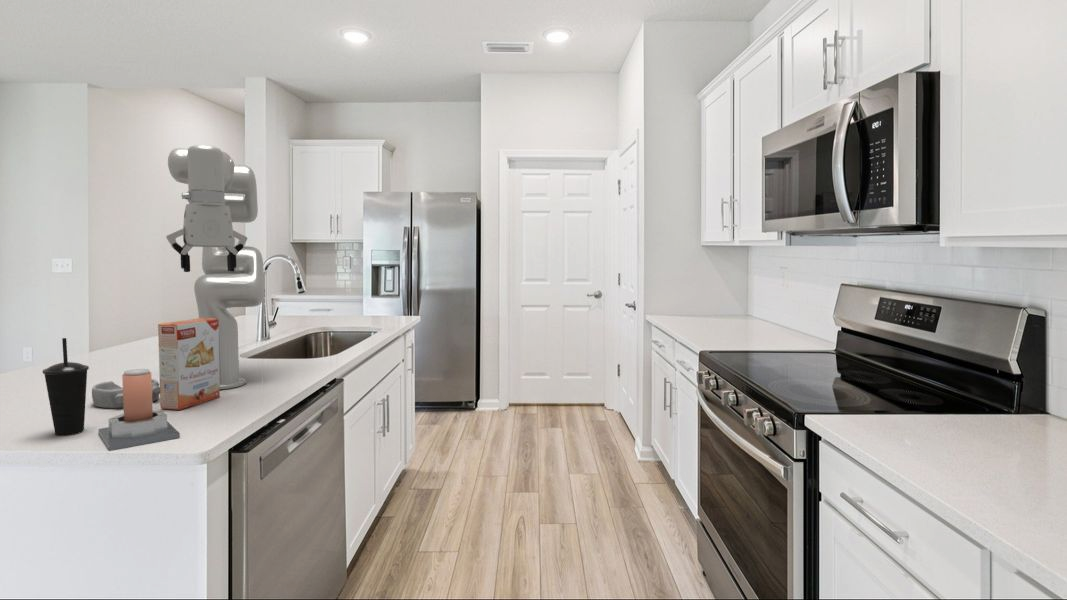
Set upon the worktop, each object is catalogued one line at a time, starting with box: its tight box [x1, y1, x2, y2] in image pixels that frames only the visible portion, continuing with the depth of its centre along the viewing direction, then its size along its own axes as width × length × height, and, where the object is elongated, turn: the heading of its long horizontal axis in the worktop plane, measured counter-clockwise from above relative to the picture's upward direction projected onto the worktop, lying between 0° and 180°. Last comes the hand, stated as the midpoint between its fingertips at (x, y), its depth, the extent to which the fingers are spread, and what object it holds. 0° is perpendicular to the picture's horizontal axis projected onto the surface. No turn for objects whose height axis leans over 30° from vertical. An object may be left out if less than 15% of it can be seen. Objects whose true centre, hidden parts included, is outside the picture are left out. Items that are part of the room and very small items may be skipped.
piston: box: [121, 368, 154, 422], centre depth 125 cm, size 5×5×13 cm
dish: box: [91, 378, 160, 409], centre depth 151 cm, size 14×14×5 cm
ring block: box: [97, 410, 181, 451], centre depth 125 cm, size 14×12×4 cm
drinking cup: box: [42, 337, 90, 437], centre depth 126 cm, size 8×8×20 cm
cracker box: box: [157, 317, 221, 411], centre depth 151 cm, size 14×6×21 cm, turn 168°
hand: (209, 271), depth 145 cm, fingers open, 9 cm apart
